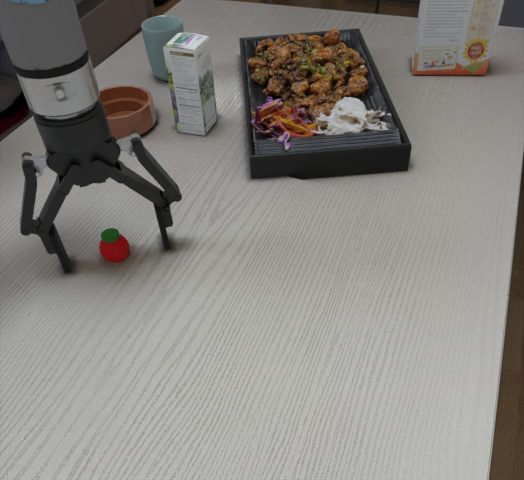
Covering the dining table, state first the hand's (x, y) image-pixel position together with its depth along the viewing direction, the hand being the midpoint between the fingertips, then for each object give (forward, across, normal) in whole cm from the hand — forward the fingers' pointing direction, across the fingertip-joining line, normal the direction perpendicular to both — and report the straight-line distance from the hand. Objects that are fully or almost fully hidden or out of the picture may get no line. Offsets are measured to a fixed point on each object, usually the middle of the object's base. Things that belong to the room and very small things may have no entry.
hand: (118, 257), depth 75 cm
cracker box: (+1, +69, +34) cm, 77 cm away
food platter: (+1, +40, +30) cm, 50 cm away
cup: (0, +18, +53) cm, 56 cm away
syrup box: (0, +18, +31) cm, 36 cm away
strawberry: (0, 0, 0) cm, 1 cm away
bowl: (0, +6, +37) cm, 37 cm away
